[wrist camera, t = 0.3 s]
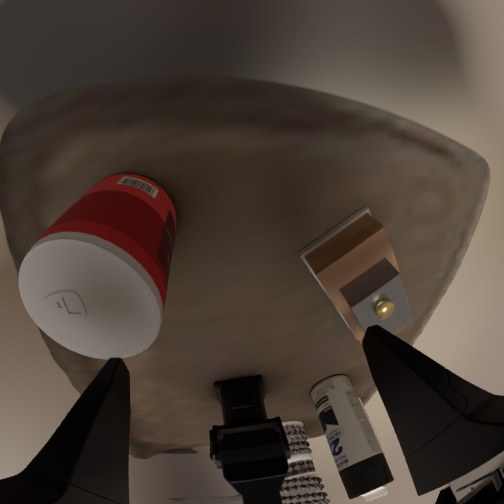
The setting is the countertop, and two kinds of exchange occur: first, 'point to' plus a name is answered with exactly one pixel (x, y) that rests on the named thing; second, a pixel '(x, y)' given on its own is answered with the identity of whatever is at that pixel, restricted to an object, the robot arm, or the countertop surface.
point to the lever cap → (379, 298)
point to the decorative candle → (301, 470)
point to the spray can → (350, 437)
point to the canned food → (104, 269)
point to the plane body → (348, 259)
